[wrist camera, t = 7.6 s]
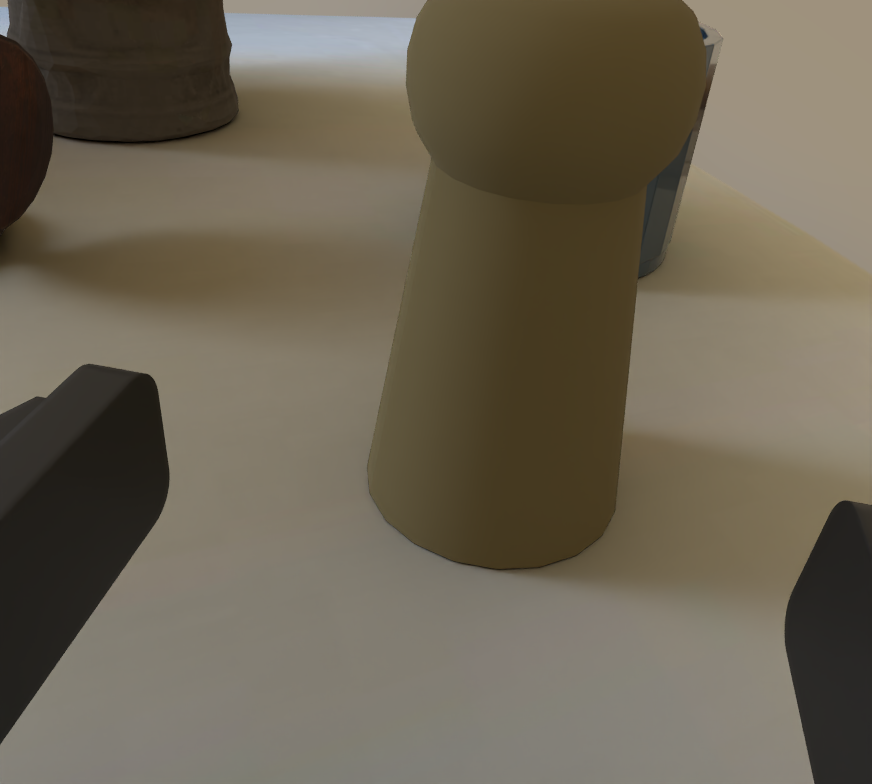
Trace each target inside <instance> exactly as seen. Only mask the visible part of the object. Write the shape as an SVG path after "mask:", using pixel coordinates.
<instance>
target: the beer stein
mask: <svg viewBox="0 0 872 784" xmlns="http://www.w3.org/2000/svg"><path fill="white" fill-rule="evenodd" d="M8 9H9V21H10V25H9V29H8V32H7V38H10V39H12V40H14V41H16V42H18V43H19V44H20V45H21V46H22V47H23V48H24V49H25V50H26V51H27V52H28V53H29V54H30V55H31V56H32V57H33V59H34V61H35V62H36V64H37V66H38V68H39V69H40V71H41V73H42V75H43V76H44V79H45V82H46V86H47V89H48V92H49V96H50V99H51V105H52V115H53V127H54V132H53V133H54V134H58V135H62V136H67V137H73V138H81V139H88V140H105V141H123V142H142V141H160V140H167V139H174V138H181V137H185V136H189V135H193V134H197V133H201V132H205V131H209V130H213V129H216V128H218V127H220V126H222V125H224V124H226V123H228V122H230V121H231V120H232V119H233V118H234V116H235V115H236V113H237V112H238V97H237V94H236V91H235V87H234V84H233V81H232V79H231V76H230V64H229V57H230V52H231V47H232V43H231V41H230V38H229V36H228V33H227V28H226V22H225V16H224V10H223V0H8Z"/></svg>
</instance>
